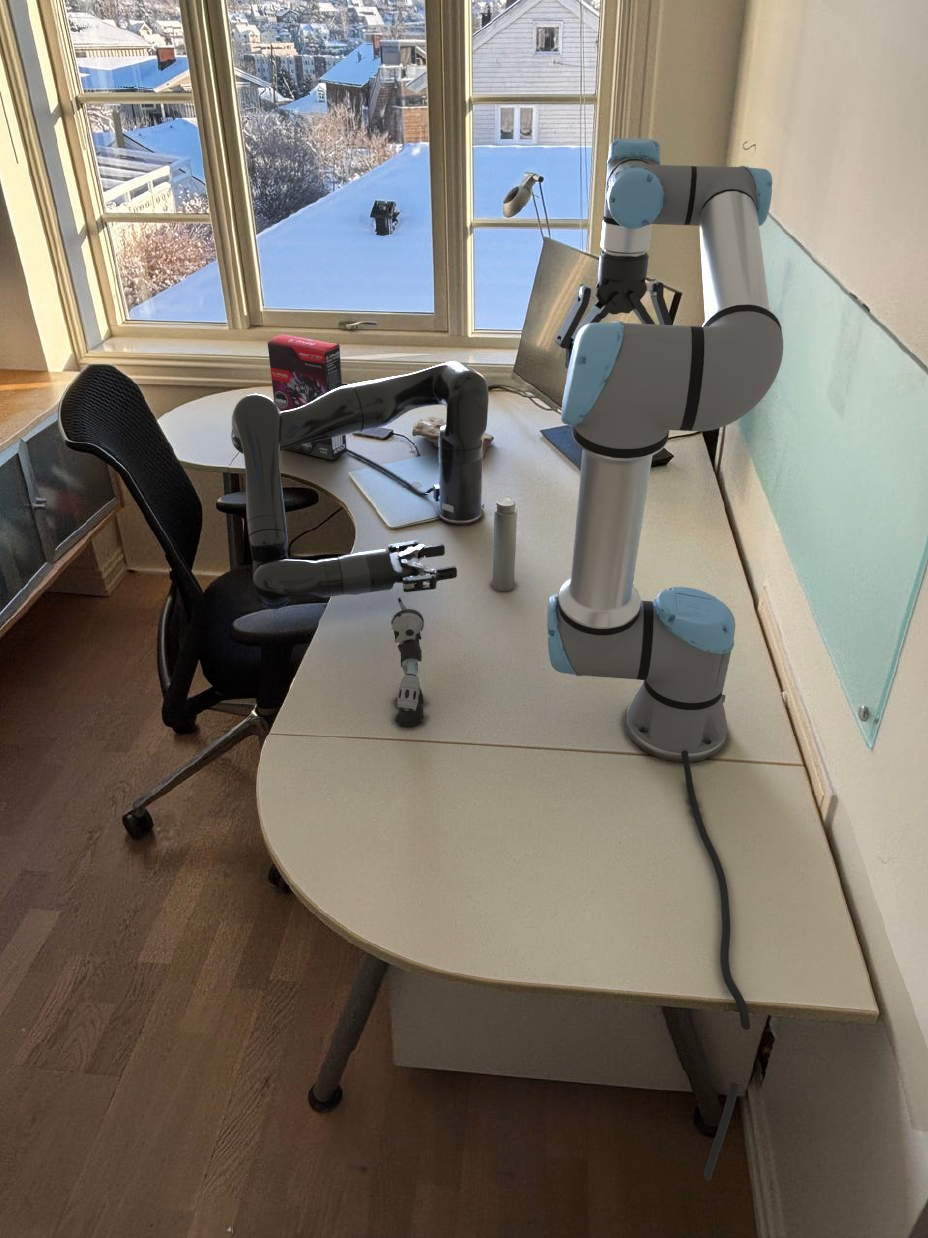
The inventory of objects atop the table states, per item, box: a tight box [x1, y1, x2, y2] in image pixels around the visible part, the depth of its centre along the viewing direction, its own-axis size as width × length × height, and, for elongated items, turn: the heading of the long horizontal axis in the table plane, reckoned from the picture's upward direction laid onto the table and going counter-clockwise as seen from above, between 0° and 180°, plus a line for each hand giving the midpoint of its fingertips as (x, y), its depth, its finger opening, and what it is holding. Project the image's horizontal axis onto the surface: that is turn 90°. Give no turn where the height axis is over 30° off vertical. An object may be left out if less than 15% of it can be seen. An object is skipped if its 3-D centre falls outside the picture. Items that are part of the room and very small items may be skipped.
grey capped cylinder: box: [491, 497, 518, 592], centre depth 173 cm, size 4×4×18 cm
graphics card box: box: [267, 333, 348, 461], centre depth 223 cm, size 17×7×27 cm, turn 62°
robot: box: [390, 597, 425, 728], centre depth 141 cm, size 20×5×20 cm, turn 3°
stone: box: [411, 416, 495, 458], centre depth 231 cm, size 21×15×6 cm
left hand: (450, 560), depth 171 cm, fingers open, 8 cm apart
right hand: (611, 384), depth 154 cm, fingers open, 13 cm apart
